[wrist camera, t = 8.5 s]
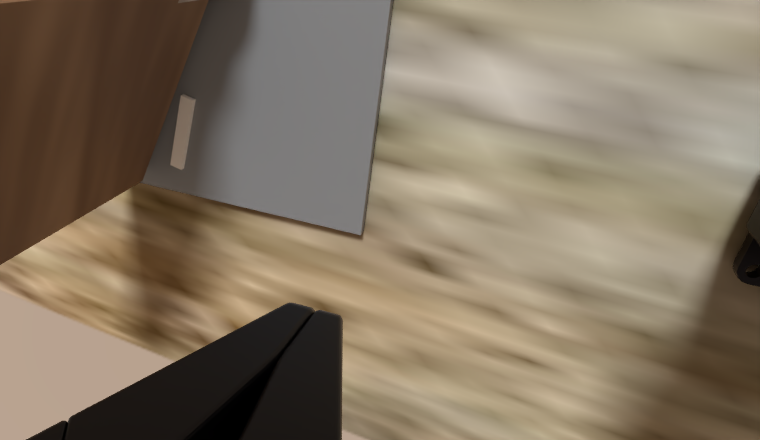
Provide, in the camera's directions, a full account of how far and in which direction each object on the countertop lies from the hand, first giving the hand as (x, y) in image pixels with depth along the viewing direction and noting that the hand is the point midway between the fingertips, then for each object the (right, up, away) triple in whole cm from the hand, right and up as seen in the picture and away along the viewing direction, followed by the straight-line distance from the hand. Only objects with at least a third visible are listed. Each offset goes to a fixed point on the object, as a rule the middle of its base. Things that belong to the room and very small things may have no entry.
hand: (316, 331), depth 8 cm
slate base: (-6, +8, +11) cm, 15 cm away
